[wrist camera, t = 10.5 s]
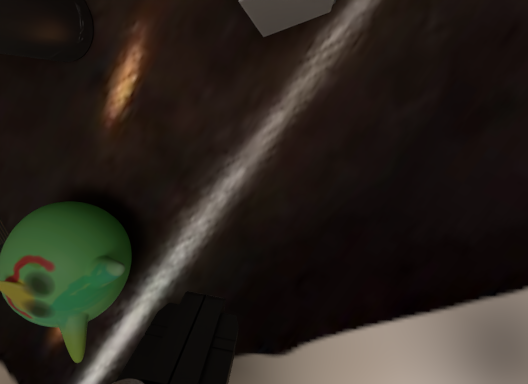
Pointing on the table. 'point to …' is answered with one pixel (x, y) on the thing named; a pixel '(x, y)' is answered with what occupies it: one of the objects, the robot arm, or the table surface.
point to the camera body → (283, 13)
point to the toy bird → (65, 268)
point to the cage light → (2, 235)
